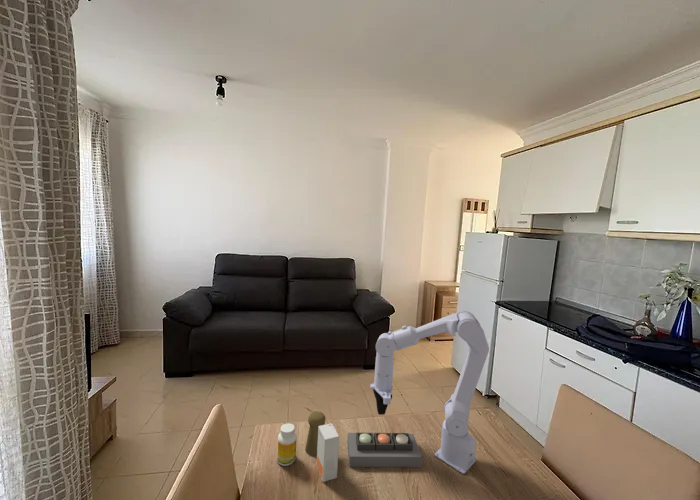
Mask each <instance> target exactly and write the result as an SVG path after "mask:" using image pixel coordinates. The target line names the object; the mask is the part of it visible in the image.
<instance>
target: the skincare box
mask: <svg viewBox="0 0 700 500" xmlns="http://www.w3.org/2000/svg"><path fill="white" fill-rule="evenodd" d="M339 445H340V436H339V434H338V432H337V429H336V427H335V425H333V423H332V422H331V423H328V424H326V423H325V424H324V425H321V426H318V444H317V456H316V465H315V466H316V468H317V471H318V473H319V475H320V477H321V479H320V480H322V483H325V482H328V481H332V480H335V479H337V478H338V466H339V465H338V463H339V450H340V449H339V448H340V447H339Z"/></svg>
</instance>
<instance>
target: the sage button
mask: <svg viewBox="0 0 700 500" xmlns="http://www.w3.org/2000/svg"><path fill="white" fill-rule="evenodd" d="M359 443H371V436H370V435H369V434H361V435H360V437H359Z"/></svg>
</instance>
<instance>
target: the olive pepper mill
mask: <svg viewBox="0 0 700 500" xmlns="http://www.w3.org/2000/svg"><path fill="white" fill-rule="evenodd" d="M307 419H308V421H307V422H308V426H309V427H308V433H307V438H306V443H305V444H306V445H305V449H304V450H305V453H306V454H307V455H309V456H311V457H317V444H318V426H321V425H326V416H325V414H324V413H323V412H322V411H319V410H317V411H313V412H311V413H310V414H309V416H308V417H307Z"/></svg>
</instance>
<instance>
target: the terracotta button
mask: <svg viewBox="0 0 700 500" xmlns="http://www.w3.org/2000/svg"><path fill="white" fill-rule="evenodd" d="M378 443H381V444H390V437H389V436H388V435H386V434H379V435H378Z"/></svg>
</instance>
